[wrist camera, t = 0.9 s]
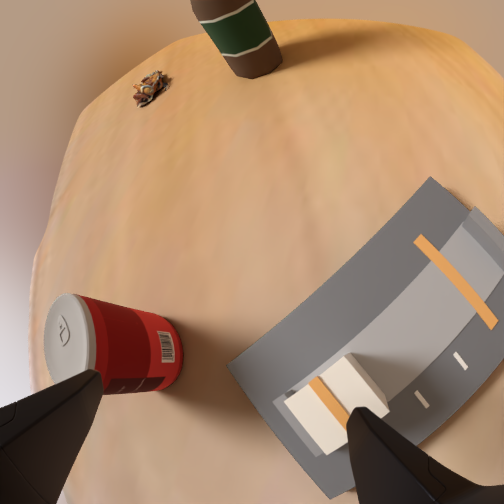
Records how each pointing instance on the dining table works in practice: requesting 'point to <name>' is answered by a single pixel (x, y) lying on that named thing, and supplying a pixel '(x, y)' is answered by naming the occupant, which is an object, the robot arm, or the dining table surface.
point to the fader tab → (336, 402)
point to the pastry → (149, 87)
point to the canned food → (111, 345)
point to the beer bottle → (240, 35)
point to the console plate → (391, 328)
